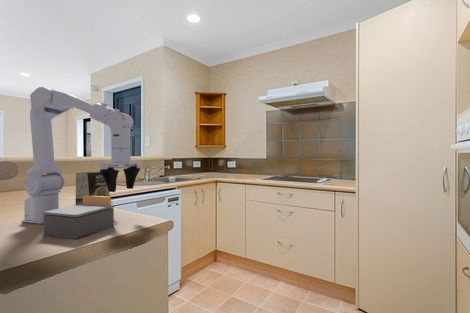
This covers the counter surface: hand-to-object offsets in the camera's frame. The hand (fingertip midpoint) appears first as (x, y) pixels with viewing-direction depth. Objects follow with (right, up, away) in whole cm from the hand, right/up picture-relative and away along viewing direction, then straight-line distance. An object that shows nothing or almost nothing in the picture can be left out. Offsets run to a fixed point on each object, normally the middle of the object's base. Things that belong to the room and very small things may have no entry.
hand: (121, 190), depth 76 cm
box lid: (-7, -5, -9) cm, 13 cm away
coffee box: (-13, -11, +6) cm, 18 cm away
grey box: (-7, -10, -9) cm, 16 cm away
